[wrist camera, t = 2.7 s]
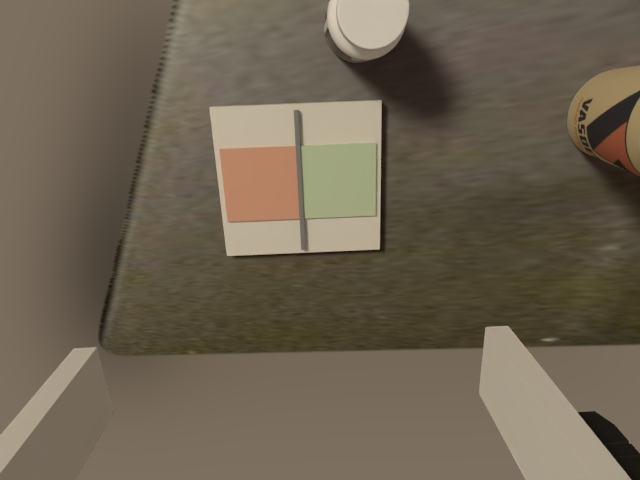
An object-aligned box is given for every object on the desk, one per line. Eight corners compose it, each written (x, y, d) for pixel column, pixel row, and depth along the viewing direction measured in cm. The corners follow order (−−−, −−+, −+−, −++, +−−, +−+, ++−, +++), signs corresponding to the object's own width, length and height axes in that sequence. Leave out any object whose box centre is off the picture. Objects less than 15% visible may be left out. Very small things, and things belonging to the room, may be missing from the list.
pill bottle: (394, 55, 39) (422, 49, 29) (330, 69, 39) (337, 68, 30) (385, -19, 37) (411, -50, 27) (317, -4, 37) (320, -30, 28)
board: (211, 106, 40) (208, 107, 38) (379, 99, 40) (382, 100, 38) (228, 252, 45) (226, 258, 43) (378, 245, 45) (380, 251, 43)
